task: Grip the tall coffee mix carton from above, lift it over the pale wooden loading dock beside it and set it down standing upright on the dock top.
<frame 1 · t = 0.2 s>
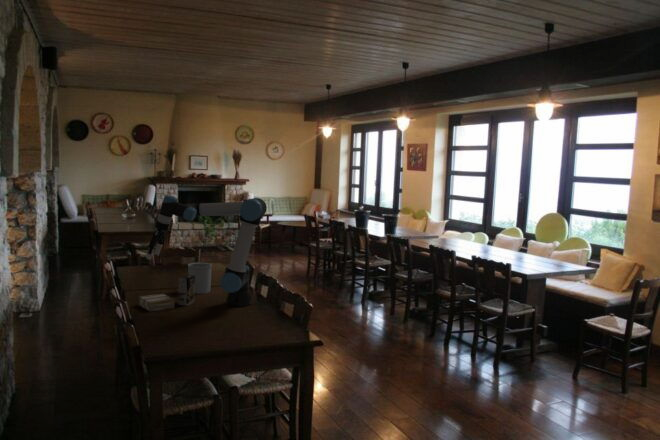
hand: (152, 256, 309), 27 cm above the table, tool tilted 15°, fingers open, 13 cm apart
utensil holder: (199, 291, 347), on the table
coffee box: (186, 303, 316), on the table
dock: (156, 306, 306), on the table
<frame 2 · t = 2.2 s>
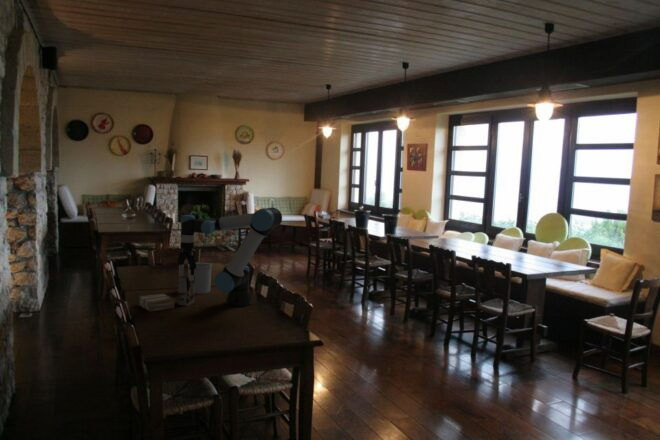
hand: (186, 278, 314), 15 cm above the table, tool pointing down, fingers open, 13 cm apart
nothing on the table moved.
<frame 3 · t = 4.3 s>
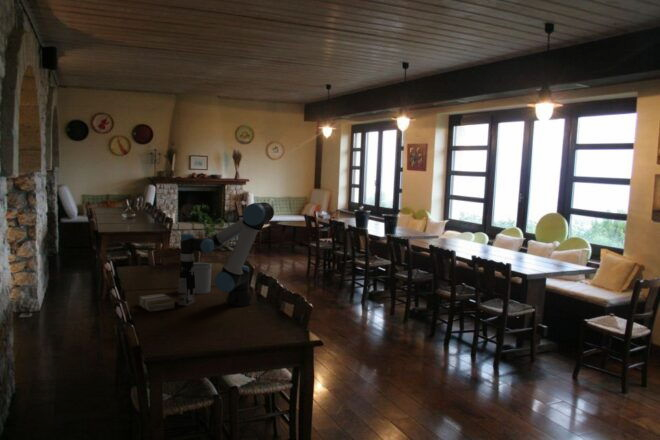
hand: (186, 298, 315), 3 cm above the table, tool pointing down, fingers closed on coffee box, 10 cm apart
coffee box: (186, 303, 316), on the table, touching gripper
everything else where it was.
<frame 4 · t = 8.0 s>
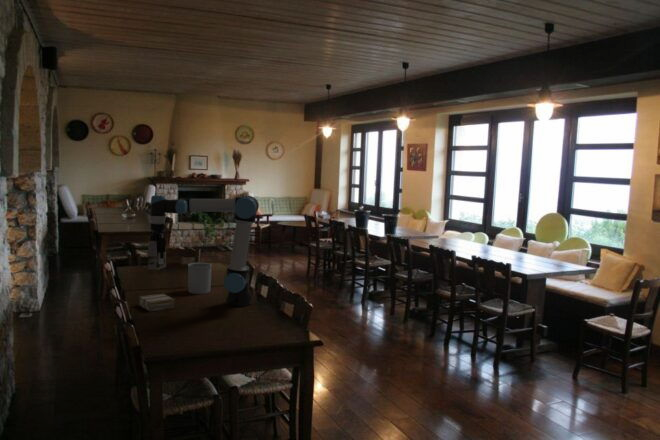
hand: (157, 262, 304), 25 cm above the table, tool pointing down, fingers closed on coffee box, 10 cm apart
coffee box: (157, 268, 304), point 22 cm above the table, touching gripper
everything else where it was.
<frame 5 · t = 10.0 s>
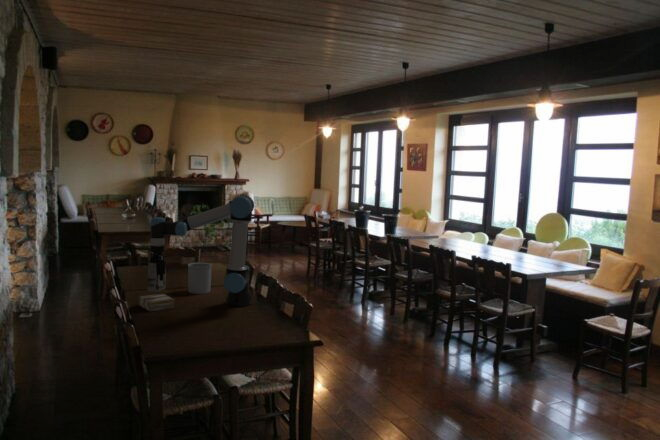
hand: (156, 284, 305), 13 cm above the table, tool pointing down, fingers closed on coffee box, 10 cm apart
coffee box: (156, 290, 306), point 9 cm above the table, touching gripper
everything else where it was.
when the fingers open (10 cm above the table, at t = 11.7 s): coffee box drops 1 cm, resting on dock.
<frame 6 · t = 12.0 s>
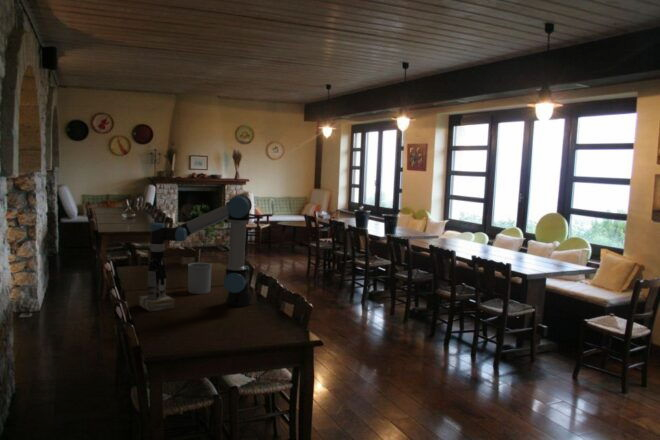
hand: (156, 288, 305), 11 cm above the table, tool pointing down, fingers open, 13 cm apart
coffee box: (156, 298, 306), point 5 cm above the table, touching dock
everything else where it was.
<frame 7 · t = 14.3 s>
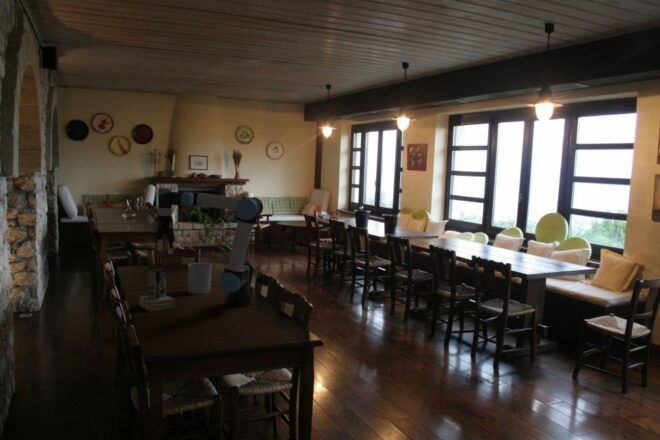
hand: (165, 252, 310), 30 cm above the table, tool pointing down, fingers open, 13 cm apart
nothing on the table moved.
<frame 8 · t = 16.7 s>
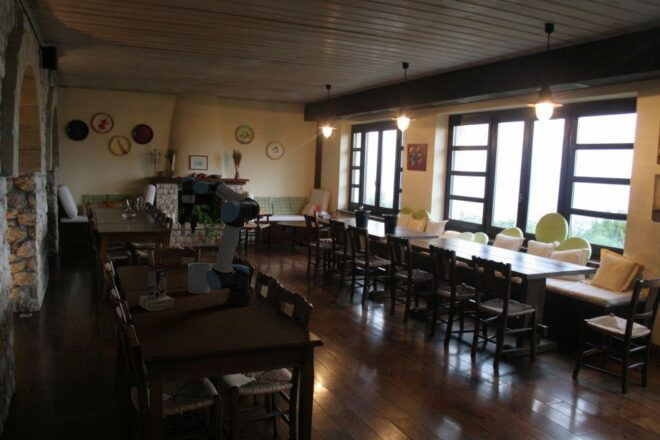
hand: (187, 236, 330), 37 cm above the table, tool pointing down, fingers open, 13 cm apart
nothing on the table moved.
at the end: coffee box inside the target area on the dock (0.1 cm from its centre), point 4.8 cm above the dock's base; coffee box tilted 0°; the gripper is holding nothing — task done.
